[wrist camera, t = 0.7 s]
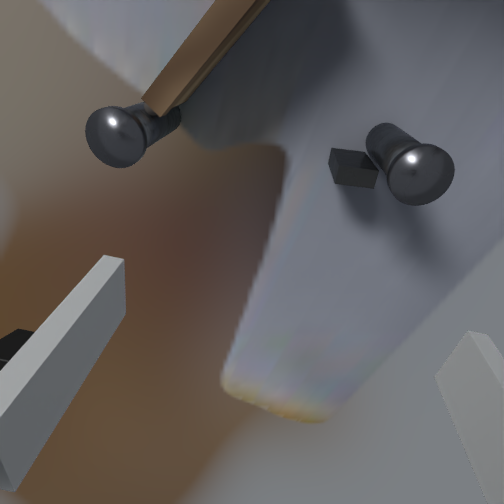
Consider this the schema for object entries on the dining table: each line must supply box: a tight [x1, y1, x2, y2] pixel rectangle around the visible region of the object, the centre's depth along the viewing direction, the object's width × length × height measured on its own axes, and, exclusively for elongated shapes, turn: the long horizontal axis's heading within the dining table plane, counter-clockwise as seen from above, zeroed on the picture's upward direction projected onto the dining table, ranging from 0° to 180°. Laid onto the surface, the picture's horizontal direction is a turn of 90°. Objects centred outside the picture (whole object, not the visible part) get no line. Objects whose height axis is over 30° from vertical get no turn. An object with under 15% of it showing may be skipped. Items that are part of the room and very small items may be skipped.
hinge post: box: [85, 102, 181, 168], centre depth 28 cm, size 4×4×11 cm
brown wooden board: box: [141, 0, 270, 117], centre depth 25 cm, size 2×17×7 cm, turn 134°
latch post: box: [328, 123, 455, 206], centre depth 27 cm, size 5×7×11 cm
